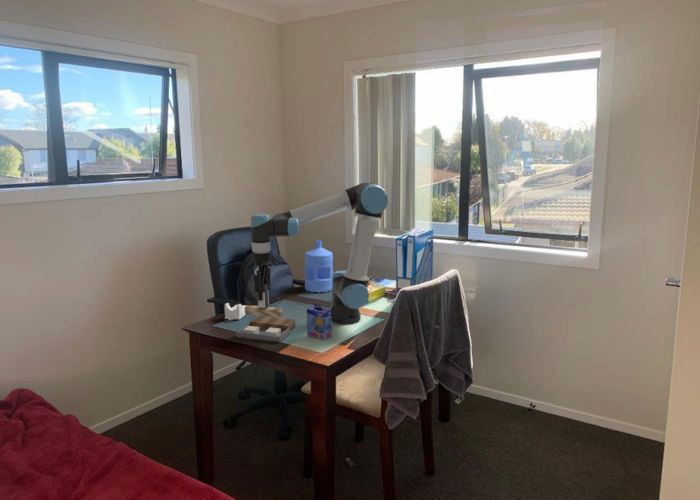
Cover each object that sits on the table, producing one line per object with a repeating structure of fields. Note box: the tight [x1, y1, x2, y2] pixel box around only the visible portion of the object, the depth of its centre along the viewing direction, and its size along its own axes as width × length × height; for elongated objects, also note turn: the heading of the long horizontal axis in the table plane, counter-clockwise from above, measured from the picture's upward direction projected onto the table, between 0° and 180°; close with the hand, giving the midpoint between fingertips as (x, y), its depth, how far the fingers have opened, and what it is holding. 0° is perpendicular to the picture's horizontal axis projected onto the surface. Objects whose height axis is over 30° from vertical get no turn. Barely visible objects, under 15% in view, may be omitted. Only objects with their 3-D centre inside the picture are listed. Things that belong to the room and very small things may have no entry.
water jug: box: [304, 239, 334, 294], centre depth 299 cm, size 16×16×28 cm
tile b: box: [243, 326, 259, 334], centre depth 229 cm, size 5×5×2 cm
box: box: [235, 323, 291, 344], centre depth 229 cm, size 20×11×2 cm, turn 74°
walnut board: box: [249, 315, 296, 332], centre depth 238 cm, size 18×9×4 cm, turn 74°
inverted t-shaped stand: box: [245, 284, 284, 318], centre depth 226 cm, size 16×3×13 cm, turn 74°
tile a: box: [265, 328, 281, 336], centre depth 227 cm, size 5×5×2 cm
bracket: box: [224, 302, 247, 321], centre depth 254 cm, size 13×7×8 cm, turn 169°
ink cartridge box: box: [306, 303, 333, 341], centre depth 228 cm, size 10×6×14 cm, turn 55°
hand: (263, 305), depth 227 cm, fingers closed on inverted t-shaped stand, 3 cm apart
